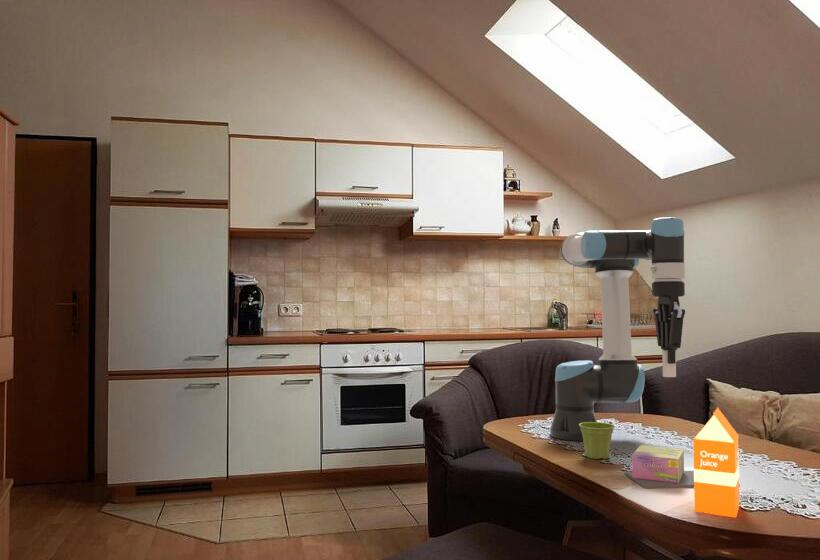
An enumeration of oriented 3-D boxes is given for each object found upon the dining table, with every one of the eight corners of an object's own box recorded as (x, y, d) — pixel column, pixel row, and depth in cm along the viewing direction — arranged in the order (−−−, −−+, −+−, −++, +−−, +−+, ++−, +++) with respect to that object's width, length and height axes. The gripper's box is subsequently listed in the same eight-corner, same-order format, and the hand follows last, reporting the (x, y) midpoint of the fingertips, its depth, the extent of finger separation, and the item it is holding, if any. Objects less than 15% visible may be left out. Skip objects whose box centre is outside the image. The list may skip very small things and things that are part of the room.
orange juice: (693, 511, 133) (692, 412, 134) (699, 499, 141) (698, 405, 141) (737, 517, 129) (735, 415, 130) (740, 505, 137) (738, 408, 137)
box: (639, 467, 166) (631, 478, 155) (639, 444, 166) (631, 453, 156) (684, 472, 161) (679, 484, 151) (684, 449, 161) (679, 458, 151)
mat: (625, 474, 162) (625, 471, 162) (713, 472, 163) (712, 470, 163) (645, 488, 150) (644, 485, 150) (739, 486, 151) (739, 483, 151)
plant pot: (586, 451, 186) (585, 420, 186) (619, 455, 181) (619, 424, 181) (574, 458, 178) (573, 425, 179) (608, 462, 173) (608, 429, 173)
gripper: (642, 281, 169) (643, 373, 168) (664, 280, 156) (665, 380, 155) (671, 281, 169) (672, 373, 169) (695, 280, 156) (697, 379, 156)
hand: (669, 376), depth 162 cm, fingers closed
